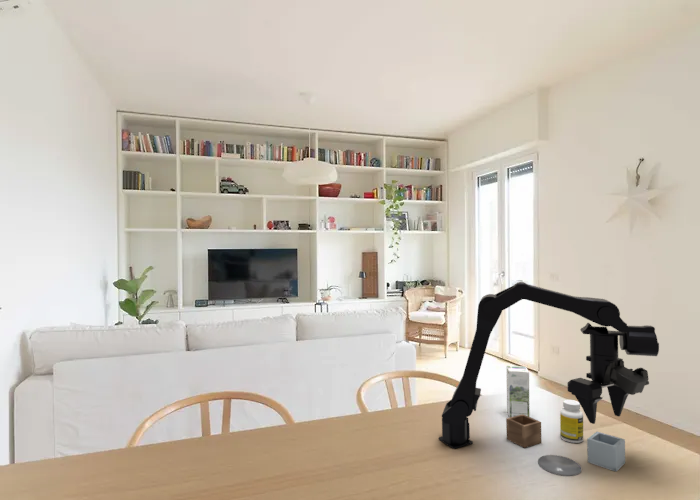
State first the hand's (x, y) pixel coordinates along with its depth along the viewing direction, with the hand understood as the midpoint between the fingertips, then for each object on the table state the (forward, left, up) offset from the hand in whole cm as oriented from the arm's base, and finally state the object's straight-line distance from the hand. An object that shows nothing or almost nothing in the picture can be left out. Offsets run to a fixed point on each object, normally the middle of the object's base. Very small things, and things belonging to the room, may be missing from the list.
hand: (605, 419), depth 101 cm
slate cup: (0, 0, -10) cm, 10 cm away
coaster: (-11, +4, -10) cm, 15 cm away
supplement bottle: (+4, +12, -10) cm, 16 cm away
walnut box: (-8, +17, -10) cm, 21 cm away
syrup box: (+4, +30, -10) cm, 32 cm away
